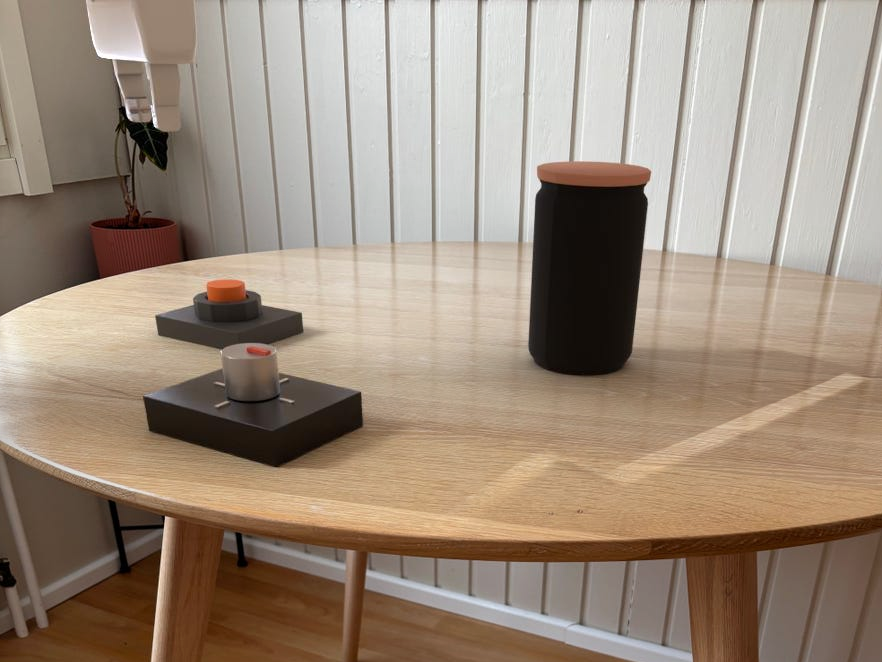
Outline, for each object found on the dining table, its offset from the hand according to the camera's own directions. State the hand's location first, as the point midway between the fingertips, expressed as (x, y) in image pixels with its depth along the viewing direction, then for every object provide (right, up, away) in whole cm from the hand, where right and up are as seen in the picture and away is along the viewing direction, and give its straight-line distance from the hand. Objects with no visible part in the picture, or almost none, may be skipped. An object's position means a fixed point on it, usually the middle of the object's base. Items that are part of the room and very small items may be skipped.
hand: (153, 126), depth 77 cm
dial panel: (+8, -25, +2) cm, 26 cm away
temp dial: (+8, -22, 0) cm, 24 cm away
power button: (0, -6, +23) cm, 24 cm away
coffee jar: (+37, -14, +20) cm, 44 cm away
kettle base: (0, -9, +25) cm, 27 cm away
